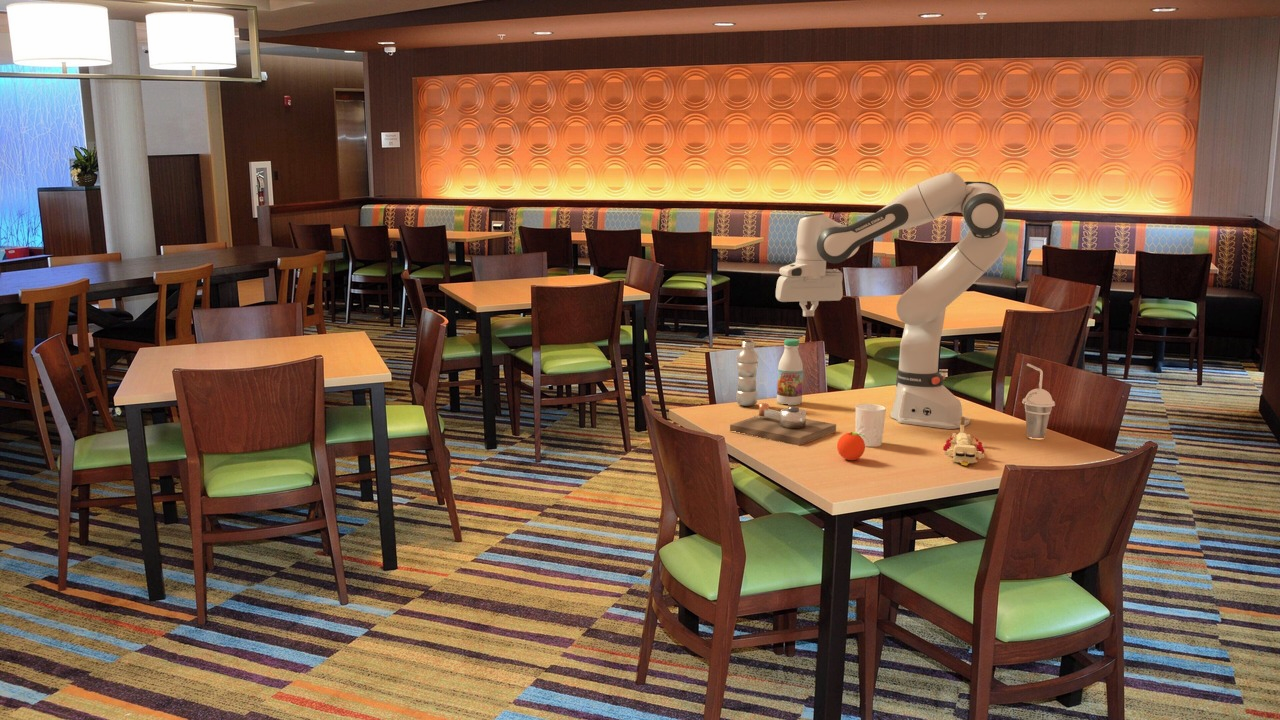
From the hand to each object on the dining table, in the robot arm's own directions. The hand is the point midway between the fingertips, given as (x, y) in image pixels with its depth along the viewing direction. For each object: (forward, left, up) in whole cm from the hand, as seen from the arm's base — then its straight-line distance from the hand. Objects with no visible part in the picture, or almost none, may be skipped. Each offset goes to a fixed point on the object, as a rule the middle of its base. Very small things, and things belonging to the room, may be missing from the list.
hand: (808, 316), depth 309 cm
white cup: (-31, +20, -29) cm, 47 cm away
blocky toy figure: (-54, +14, -30) cm, 63 cm away
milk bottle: (+10, -8, -29) cm, 32 cm away
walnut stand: (-7, +24, -29) cm, 38 cm away
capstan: (-6, +23, -27) cm, 36 cm away
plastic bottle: (+18, +4, -29) cm, 35 cm away
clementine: (-35, +37, -29) cm, 59 cm away
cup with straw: (-63, -16, -29) cm, 71 cm away
